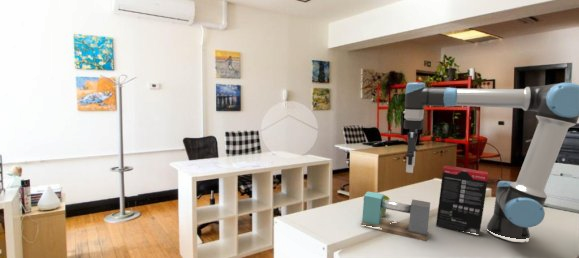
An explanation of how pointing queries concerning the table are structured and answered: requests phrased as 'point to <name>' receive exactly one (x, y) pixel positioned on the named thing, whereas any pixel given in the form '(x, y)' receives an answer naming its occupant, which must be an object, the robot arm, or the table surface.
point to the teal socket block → (372, 208)
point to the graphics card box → (462, 199)
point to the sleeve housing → (419, 217)
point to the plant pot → (386, 200)
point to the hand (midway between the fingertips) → (410, 169)
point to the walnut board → (396, 229)
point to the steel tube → (395, 206)
